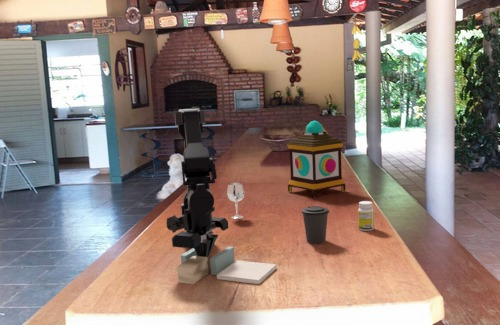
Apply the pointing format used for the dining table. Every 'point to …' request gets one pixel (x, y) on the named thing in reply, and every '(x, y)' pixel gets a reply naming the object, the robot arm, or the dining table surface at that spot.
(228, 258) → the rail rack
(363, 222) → the supplement bottle
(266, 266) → the ceramic tile
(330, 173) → the decorative lantern
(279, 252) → the dining table surface
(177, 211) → the dining table surface
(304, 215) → the coffee cup
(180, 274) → the maple block
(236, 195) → the wineglass
